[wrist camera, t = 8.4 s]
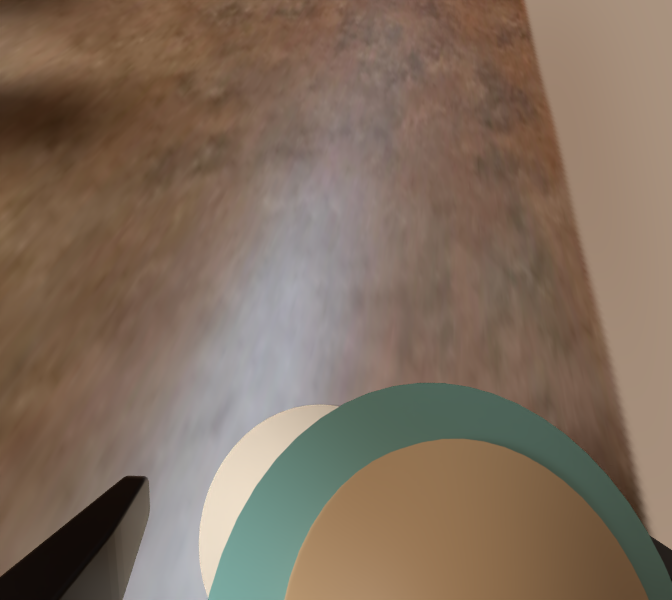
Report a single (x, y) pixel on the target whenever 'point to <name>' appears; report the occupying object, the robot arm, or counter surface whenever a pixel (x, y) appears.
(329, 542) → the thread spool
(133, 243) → the counter surface
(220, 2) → the counter surface
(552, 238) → the counter surface
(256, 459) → the coaster
